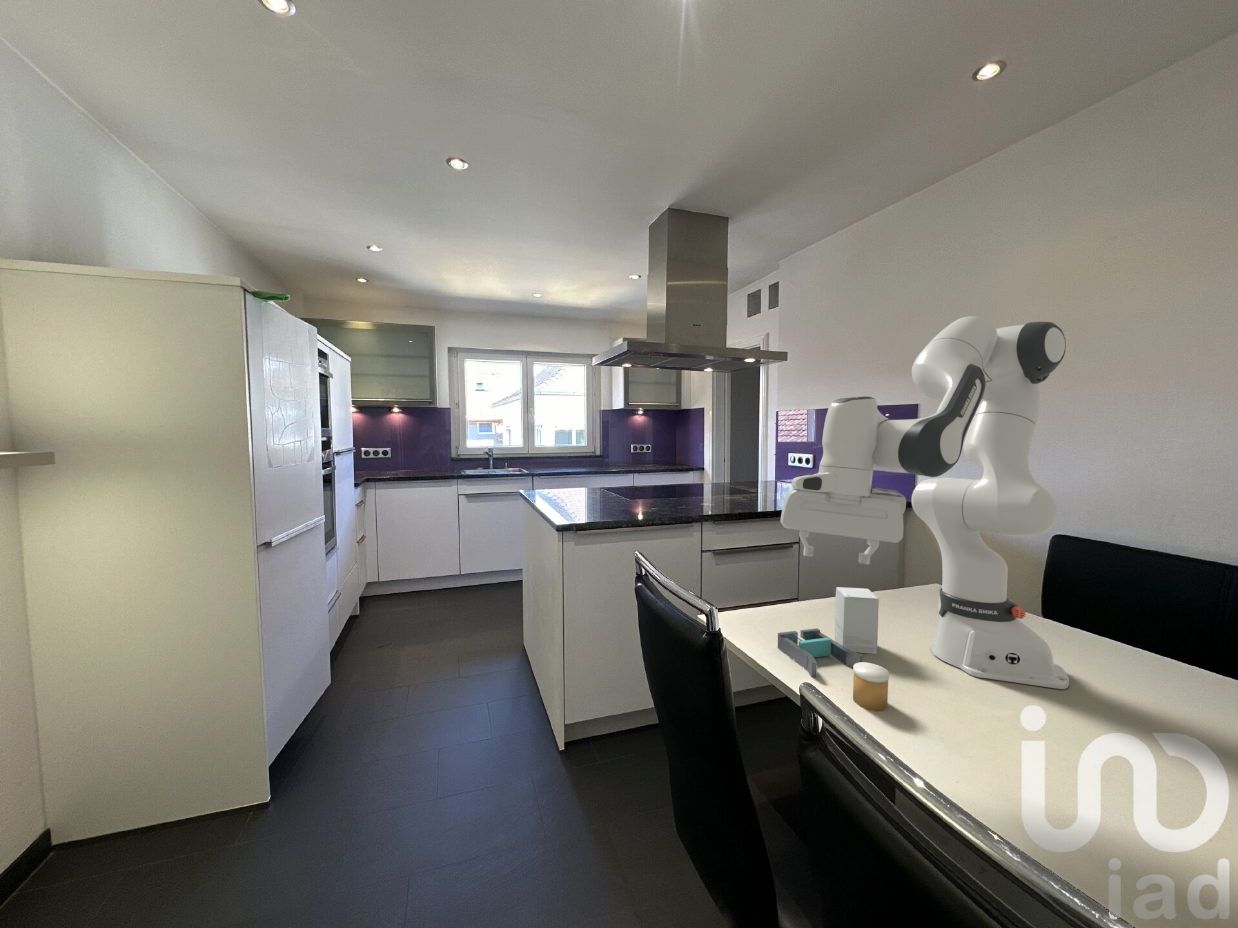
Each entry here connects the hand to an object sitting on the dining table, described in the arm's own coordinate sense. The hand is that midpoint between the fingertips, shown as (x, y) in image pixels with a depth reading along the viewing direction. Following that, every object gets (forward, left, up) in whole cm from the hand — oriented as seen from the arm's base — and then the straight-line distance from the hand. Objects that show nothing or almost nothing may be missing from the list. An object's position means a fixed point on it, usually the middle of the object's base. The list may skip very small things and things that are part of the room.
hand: (835, 559), depth 85 cm
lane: (+5, -14, -26) cm, 30 cm away
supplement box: (-2, -26, -26) cm, 36 cm away
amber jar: (-6, -2, -26) cm, 27 cm away
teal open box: (+7, -17, -25) cm, 31 cm away
